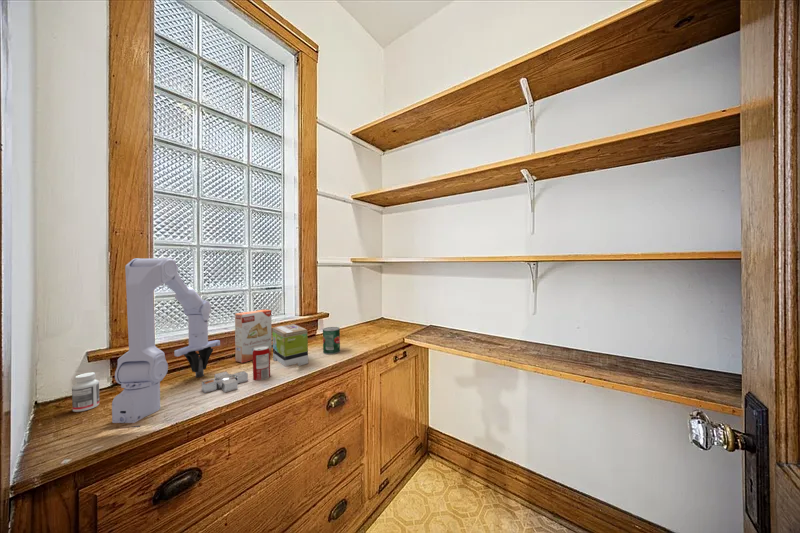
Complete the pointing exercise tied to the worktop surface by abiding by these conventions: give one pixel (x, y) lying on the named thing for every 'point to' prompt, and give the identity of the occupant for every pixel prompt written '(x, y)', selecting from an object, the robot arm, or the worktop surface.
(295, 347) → the tea box
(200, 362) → the black pin
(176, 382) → the worktop surface
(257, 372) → the soda can
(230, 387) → the tabbed chrome dome
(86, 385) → the pill bottle
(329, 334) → the canned tomato
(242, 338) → the cracker box
